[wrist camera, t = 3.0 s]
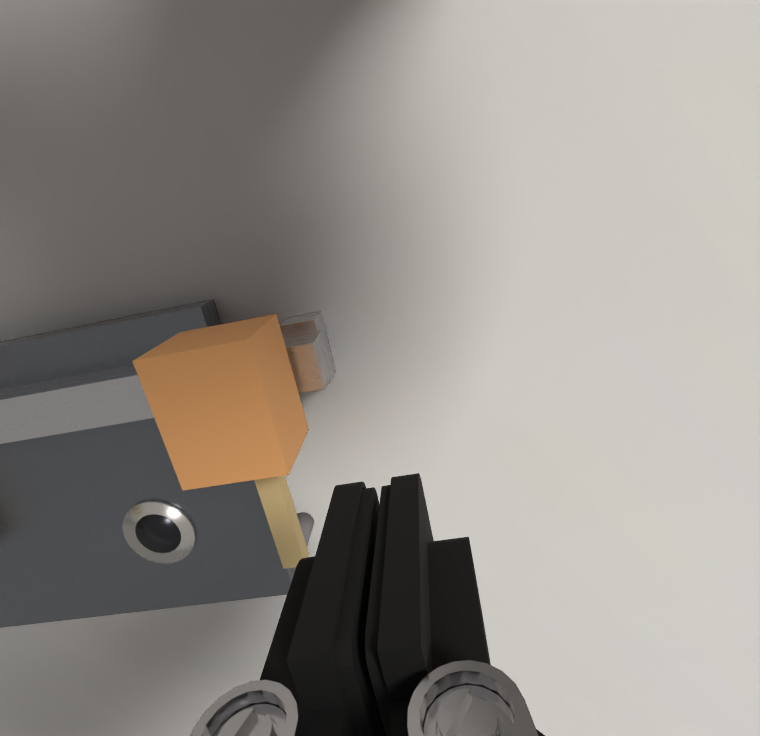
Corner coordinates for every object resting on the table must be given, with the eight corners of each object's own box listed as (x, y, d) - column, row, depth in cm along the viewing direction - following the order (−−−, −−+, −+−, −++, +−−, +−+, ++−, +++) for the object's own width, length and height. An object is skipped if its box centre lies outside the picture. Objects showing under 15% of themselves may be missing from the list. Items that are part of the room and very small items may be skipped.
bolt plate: (317, 278, 22) (276, 315, 16) (387, 562, 27) (378, 679, 21) (-182, 377, 26) (-385, 442, 19) (-37, 614, 31) (-159, 728, 24)
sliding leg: (286, 304, 21) (247, 339, 16) (345, 524, 24) (328, 607, 19) (196, 322, 21) (132, 361, 16) (267, 534, 25) (232, 618, 20)
